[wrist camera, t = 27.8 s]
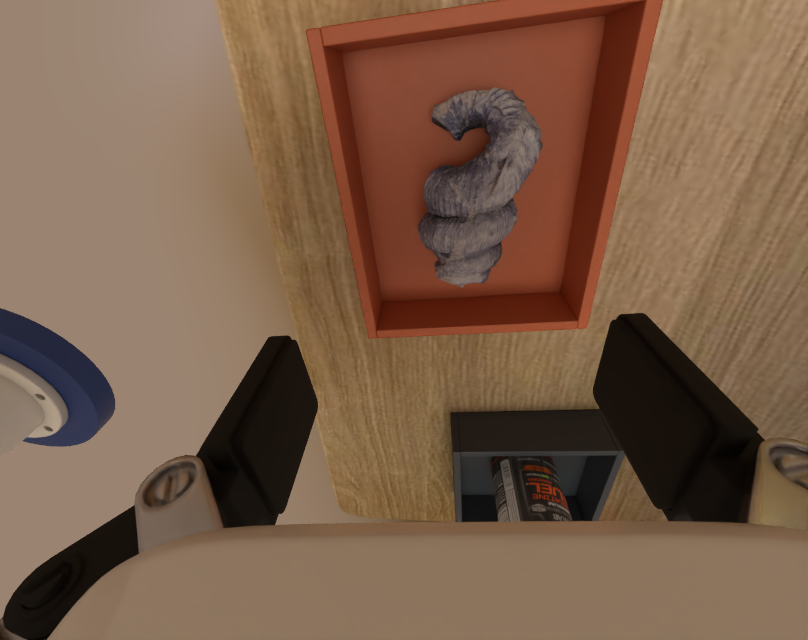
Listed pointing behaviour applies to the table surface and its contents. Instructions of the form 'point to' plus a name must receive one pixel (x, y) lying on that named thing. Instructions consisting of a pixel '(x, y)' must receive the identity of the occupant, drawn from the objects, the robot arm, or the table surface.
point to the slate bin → (534, 436)
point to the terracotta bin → (433, 146)
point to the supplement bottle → (528, 489)
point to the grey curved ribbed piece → (478, 184)
